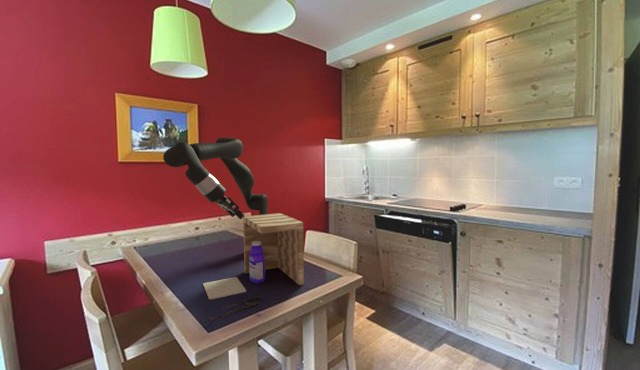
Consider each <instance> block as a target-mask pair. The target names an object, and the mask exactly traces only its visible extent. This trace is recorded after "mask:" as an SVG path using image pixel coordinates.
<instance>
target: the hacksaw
mask: <svg viewBox="0 0 640 370" xmlns="http://www.w3.org/2000/svg"><path fill="white" fill-rule="evenodd" d="M261 299H263V296H261V295H256V296H254V297H250V298H248V299H244V300H242V301H238V302H236V303H233V304H229V305H226V306H222V307H221V309H227V308H231V307H235V306H237V305H242V304H244V306H242V307H240V308H237V309H234V310H231V311H229V312H228V311H227V312H225V313H222V314H220V315H218V316H215V317H211V316H210V315H208V317H209V318H210V320H211V322H210V324H209V325H207V326H203V327H202V328H206V329H207V328H208V327H209V328H210V327H211V326H212V324H213V322H214V321H215V320H218V319H221V318H223V317H224V316H227V315H230V314H231V315H232V314H234V313H237V312H241V311H244V310H246V309H249V308H254V307H255V306H256V305H258V306H256V308H258V307H260V306H261V305H262V304H261V303H260V302H255V303H253V301H259V300H261ZM245 305H246V306H245Z"/></svg>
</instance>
